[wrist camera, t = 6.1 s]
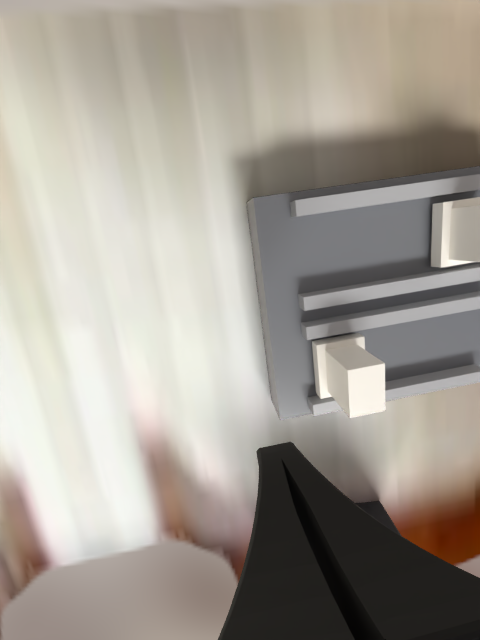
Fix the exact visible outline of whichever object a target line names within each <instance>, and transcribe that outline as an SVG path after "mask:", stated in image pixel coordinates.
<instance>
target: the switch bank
mask: <svg viewBox="0 0 480 640" xmlns="http://www.w3.org/2000/svg"><path fill="white" fill-rule="evenodd" d="M476 197H480V166H476V167H469V168H462V169H455V170H448V171H441V172H434V173H426V174H419V175H412V176H405V177H398V178H391V179H383V180H376V181H369V182H362V183H355V184H348V185H341V186H333V187H326V188H319V189H312V190H305V191H298V192H291V193H283V194H276V195H269V196H262V197H255V198H252V199H251V200H249V201H248V202H247V203H246V204H247V211H248V219H249V227H250V235H251V243H252V250H253V258H254V266H255V274H256V282H257V289H258V297H259V305H260V313H261V320H262V328H263V336H264V344H265V352H266V359H267V367H268V375H269V383H270V391H271V398H272V402H273V405H274V407H275V409H276V412H277V414H278V416H279V418H280V420H283V419H288V418H293V417H298V416H303V415H308V414H313V416H317V415H322V414H327V413H332V412H337V411H342V410H343V409H342V408H341V407H340V406H339V404H338V403H337V402H336V401H335V400H334V398H333V397H328V398H323V399H320V397H319V396H318V395H317V393H316V386H315V374H314V362H313V350H312V341H315V340H321V339H326V338H332V337H337V336H343V335H348V334H353V333H359V334H361V335H363V336H364V337H365V350H366V351H367V352H369V353H370V354H372V355H373V356H375V357H376V358H378V359H379V360H381V361H382V362H384V363H385V402H386V401H391V400H396V399H400V398H405V397H410V396H415V395H420V394H425V393H430V392H435V391H440V390H444V389H449V388H454V387H459V386H464V385H469V384H474V383H479V382H480V262H472V263H466V264H460V265H454V266H448V267H442V268H439V267H431V241H432V209H433V204H436V203H443V202H449V201H456V200H463V199H469V198H476Z"/></svg>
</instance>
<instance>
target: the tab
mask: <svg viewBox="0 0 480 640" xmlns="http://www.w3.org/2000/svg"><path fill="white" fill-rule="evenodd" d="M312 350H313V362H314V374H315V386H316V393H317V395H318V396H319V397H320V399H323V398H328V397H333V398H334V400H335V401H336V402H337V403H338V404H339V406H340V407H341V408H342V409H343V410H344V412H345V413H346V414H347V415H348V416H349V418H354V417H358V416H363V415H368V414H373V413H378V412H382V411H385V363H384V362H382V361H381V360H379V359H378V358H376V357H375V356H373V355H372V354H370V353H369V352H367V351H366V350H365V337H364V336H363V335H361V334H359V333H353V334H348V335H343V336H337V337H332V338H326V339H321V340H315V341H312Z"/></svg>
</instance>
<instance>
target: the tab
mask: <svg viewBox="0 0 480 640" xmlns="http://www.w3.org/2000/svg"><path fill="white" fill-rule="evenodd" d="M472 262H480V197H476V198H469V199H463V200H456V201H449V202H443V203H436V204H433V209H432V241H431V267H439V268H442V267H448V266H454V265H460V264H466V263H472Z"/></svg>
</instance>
